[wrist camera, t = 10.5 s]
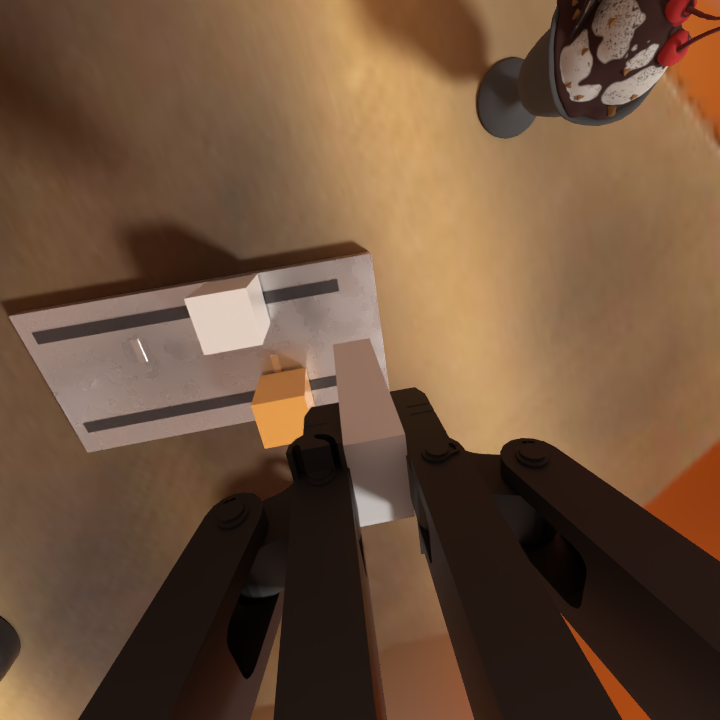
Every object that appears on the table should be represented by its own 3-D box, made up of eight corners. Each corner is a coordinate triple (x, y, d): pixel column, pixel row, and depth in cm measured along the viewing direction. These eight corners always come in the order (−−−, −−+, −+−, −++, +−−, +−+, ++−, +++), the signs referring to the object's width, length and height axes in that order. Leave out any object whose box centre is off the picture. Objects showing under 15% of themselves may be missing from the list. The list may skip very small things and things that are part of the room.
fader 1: (221, 331, 29) (204, 355, 24) (205, 282, 27) (183, 298, 23) (270, 322, 29) (262, 344, 25) (257, 273, 28) (246, 287, 23)
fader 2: (271, 414, 33) (264, 448, 28) (260, 375, 31) (250, 405, 26) (315, 406, 33) (315, 438, 28) (305, 367, 31) (304, 395, 27)
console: (96, 442, 34) (87, 453, 32) (23, 310, 28) (7, 316, 27) (386, 386, 35) (390, 394, 34) (368, 251, 30) (371, 253, 28)
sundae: (554, 137, 28) (783, 75, 14) (471, 160, 28) (622, 120, 14) (552, 31, 25) (833, -171, 12) (460, 57, 25) (634, -116, 12)
